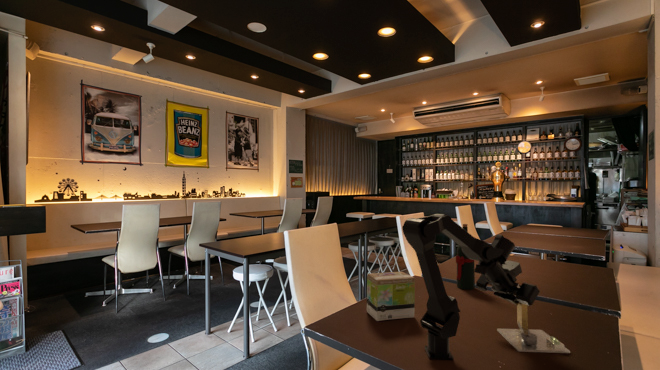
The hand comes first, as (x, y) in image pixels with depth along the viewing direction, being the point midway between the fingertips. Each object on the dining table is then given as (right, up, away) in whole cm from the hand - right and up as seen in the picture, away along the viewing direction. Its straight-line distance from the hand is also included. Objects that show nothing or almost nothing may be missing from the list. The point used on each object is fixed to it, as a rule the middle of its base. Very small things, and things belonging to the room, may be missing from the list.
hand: (517, 303), depth 105 cm
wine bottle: (+2, -10, +47) cm, 48 cm away
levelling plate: (0, -9, -7) cm, 11 cm away
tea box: (-39, -9, +14) cm, 42 cm away
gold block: (0, -8, -4) cm, 9 cm away
